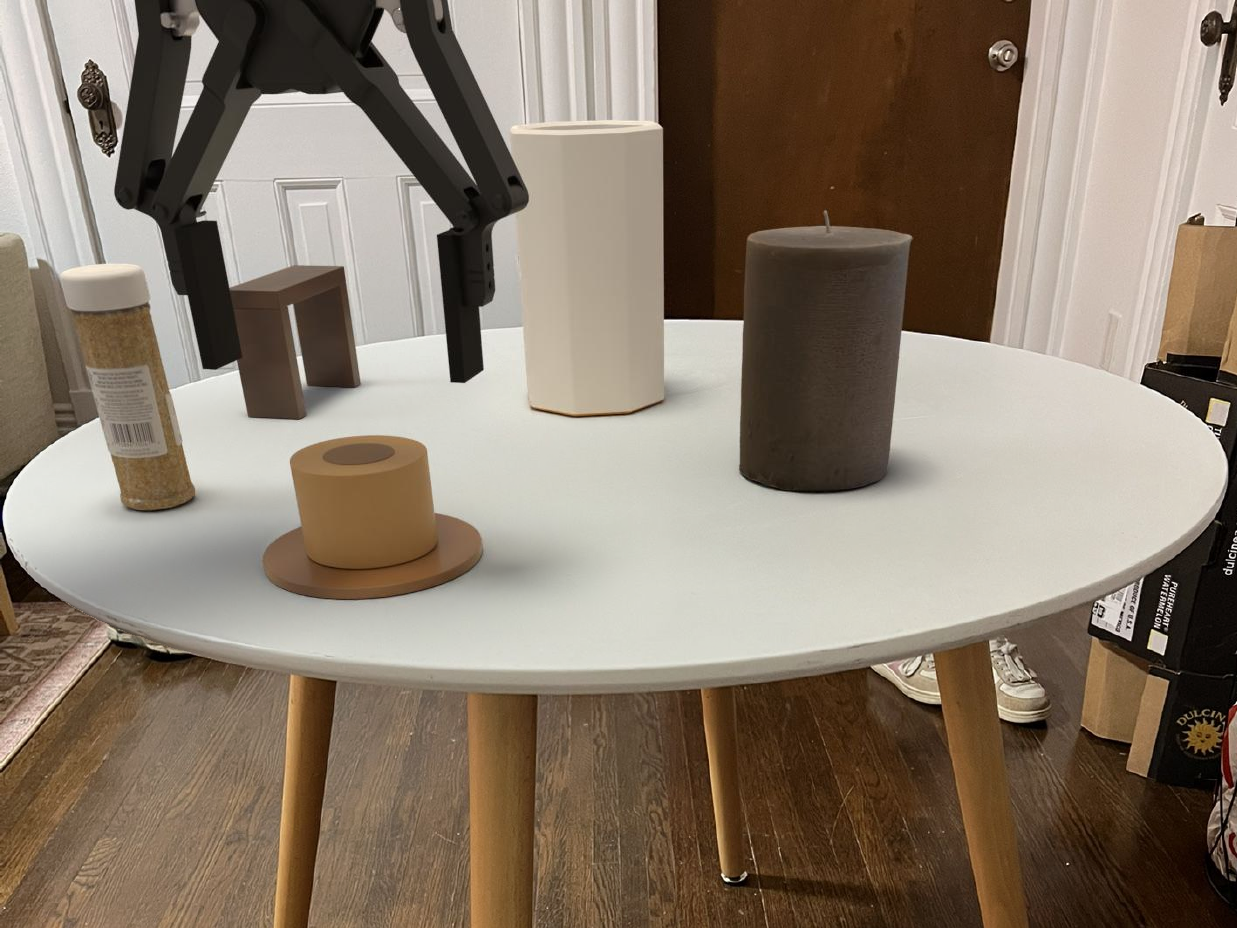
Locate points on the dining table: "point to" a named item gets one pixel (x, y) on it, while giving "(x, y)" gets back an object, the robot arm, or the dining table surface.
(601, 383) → the cream faceted vase
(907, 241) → the pillar candle
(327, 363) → the brown arch block
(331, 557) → the tape roll
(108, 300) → the spice jar
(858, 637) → the dining table surface
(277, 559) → the cork mat
